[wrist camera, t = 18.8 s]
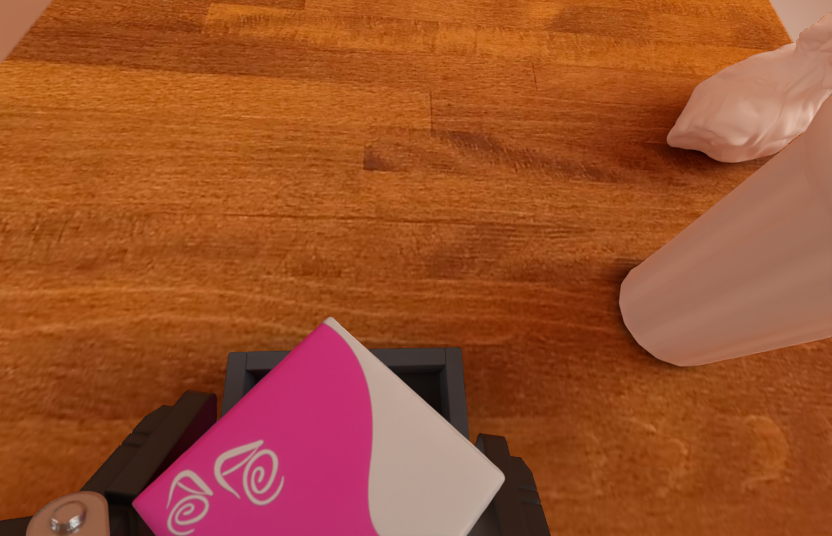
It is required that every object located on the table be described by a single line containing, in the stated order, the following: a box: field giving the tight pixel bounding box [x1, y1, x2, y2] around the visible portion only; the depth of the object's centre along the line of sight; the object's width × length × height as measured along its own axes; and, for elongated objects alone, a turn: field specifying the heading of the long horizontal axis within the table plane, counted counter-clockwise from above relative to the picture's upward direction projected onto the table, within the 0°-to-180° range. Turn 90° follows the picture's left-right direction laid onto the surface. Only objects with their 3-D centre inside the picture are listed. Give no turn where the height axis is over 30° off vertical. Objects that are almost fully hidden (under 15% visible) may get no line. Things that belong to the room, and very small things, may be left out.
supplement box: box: [132, 317, 505, 536], centre depth 14 cm, size 6×6×12 cm
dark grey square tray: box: [221, 347, 471, 536], centre depth 19 cm, size 10×10×3 cm
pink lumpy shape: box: [667, 12, 832, 163], centre depth 27 cm, size 12×8×11 cm
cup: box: [619, 94, 832, 366], centre depth 19 cm, size 8×8×14 cm
